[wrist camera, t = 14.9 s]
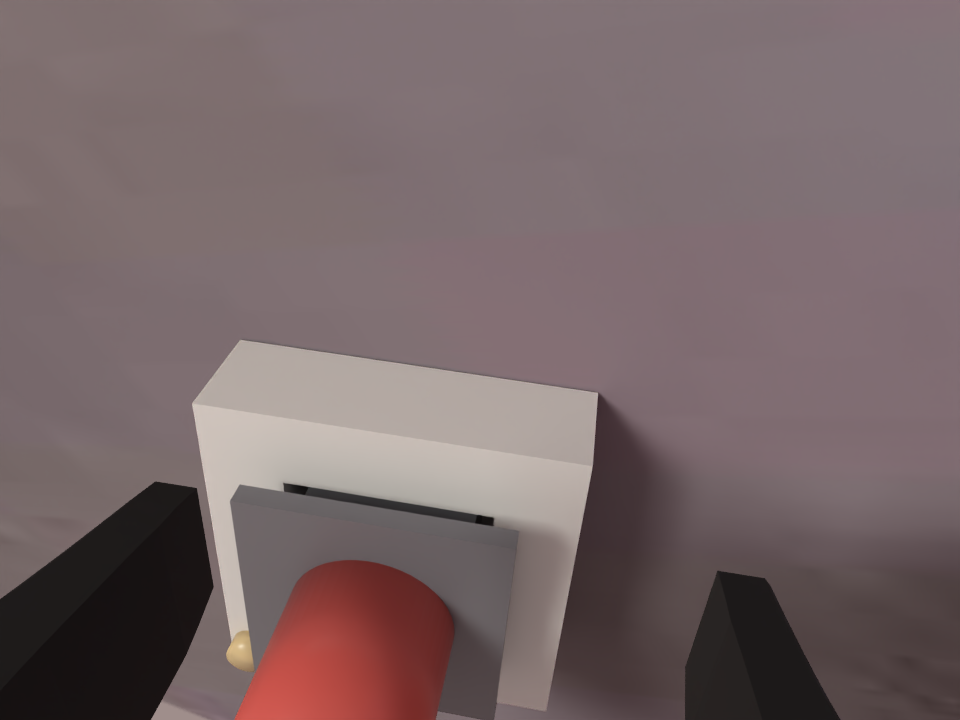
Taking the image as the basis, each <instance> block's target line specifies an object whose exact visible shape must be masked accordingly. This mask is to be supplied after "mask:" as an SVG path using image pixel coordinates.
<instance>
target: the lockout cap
mask: <svg viewBox="0 0 960 720" xmlns="http://www.w3.org/2000/svg"><path fill="white" fill-rule="evenodd" d="M454 632H455V631H454V623H453V620H452V616H451V614H450V612H449V610H448V608H447V607H446V605H445V604H444V602H443V601H442V600H441V599H440V598H439V596H438V595H437V594H436V593H435V592H434V591H432V590H431V589H430V588H429V587H428V586H426V585H425V584H424V583H422V582H421V581H419V580H418V579H416V578H414V577H413V576H411V575H409V574H407V573H405V572H403V571H401V570H398V569H395V568H393V567H390V566H386V565H383V564H379V563H374V562H369V561H360V560H341V561H333V562H329V563H325V564H322V565H319V566H316V567H315V568H313V569H311V570H309V571H308V572H306V573H305V574H304V575H302V577H301V578H300V579H299V580H298V581H297V583H296V584H295V586H294V588H293V590H292V592H291V594H290V597H289V599H288V601H287V603H286V606H285V608H284V610H283V612H282V615H281V617H280V619H279V621H278V623H277V626H276V628H275V630H274V632H273V635H272V637H271V639H270V641H269V644H268V646H267V648H266V650H265V653H264V655H263V657H262V659H261V661H260V664H259V666H258V668H257V670H256V673H255V675H254V677H253V679H252V682H251V684H250V686H249V688H248V690H247V693H246V695H245V697H244V699H243V702H242V704H241V706H240V708H239V711H238V713H237V715H236V717H235V719H234V720H436V716H437V711H438V707H439V703H440V698H441V694H442V689H443V685H444V680H445V676H446V671H447V667H448V662H449V658H450V654H451V649H452V645H453V640H454Z"/></svg>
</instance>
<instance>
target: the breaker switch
mask: <svg viewBox="0 0 960 720" xmlns="http://www.w3.org/2000/svg"><path fill="white" fill-rule="evenodd" d="M230 506H231V513H232V520H233V527H234V533H235V540H236V547H237V554H238V561H239V568H240V575H241V581H242V588H243V595H244V602H245V609H246V616H247V623H248V629H249V636H250V643H251V650H252V657H253V664H254V671H255V673H256V670H257V668H258V666H259V664H260V661H261V659H262V657H263V655H264V653H265V650H266V648H267V646H268V644H269V641H270V639H271V637H272V635H273V632H274V630H275V628H276V626H277V623H278V621H279V619H280V617H281V615H282V612H283V610H284V608H285V606H286V603H287V601H288V599H289V597H290V594H291V592H292V590H293V588H294V586H295V584H296V583H297V581H298V580H299V579H300V578H301V577H302V575H304V574H305V573H306V572H308V571H309V570H311V569H313V568H315V567H316V566H319V565H322V564H325V563H329V562H333V561H341V560H360V561H369V562H374V563H379V564H383V565H386V566H390V567H393V568H395V569H398V570H401V571H403V572H405V573H407V574H409V575H411V576H413V577H414V578H416V579H418V580H419V581H421V582H422V583H424V584H425V585H426V586H428V587H429V588H430V589H431V590H432V591H434V592H435V593H436V594H437V595H438V596H439V598H440V599H441V600H442V601H443V602H444V604H445V605H446V607H447V608H448V610H449V612H450V614H451V616H452V620H453V623H454V631H455V632H454V640H453V645H452V649H451V654H450V658H449V662H448V667H447V671H446V676H445V680H444V685H443V689H442V694H441V698H440V703H439V707H438V711H440V712H445V713H450V714H455V715H461V716H466V717H471V718H477V719H482V720H494V717H495V710H496V704H497V697H498V689H499V682H500V674H501V666H502V659H503V651H504V644H505V636H506V628H507V621H508V613H509V606H510V598H511V590H512V583H513V575H514V568H515V560H516V552H517V545H518V537H519V531H517V530H511V529H505V528H499V527H493V526H487V525H481V523H482V515H476V514H470V513H464V512H458V511H452V510H446V509H440V508H434V507H428V506H422V505H416V504H409V503H403V502H397V501H391V500H385V499H379V498H373V497H367V496H361V495H355V494H349V493H343V492H337V491H331V490H325V489H319V488H312V487H309V488H308V490H307V492H306V494H305V495H301V494H295V493H289V492H283V491H277V490H271V489H265V488H259V487H253V486H247V485H239V486H238V488H237V490H236V491H235V493H234V495H233V497H232V498H231V500H230Z"/></svg>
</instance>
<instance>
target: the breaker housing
mask: <svg viewBox="0 0 960 720" xmlns="http://www.w3.org/2000/svg"><path fill="white" fill-rule="evenodd" d="M597 401H598V393H596V392H589V391H582V390H575V389H569V388H562V387H555V386H548V385H542V384H535V383H528V382H521V381H515V380H508V379H501V378H495V377H488V376H481V375H474V374H468V373H461V372H454V371H447V370H441V369H434V368H427V367H420V366H414V365H407V364H400V363H393V362H387V361H380V360H373V359H366V358H360V357H353V356H346V355H340V354H333V353H326V352H319V351H313V350H306V349H299V348H292V347H286V346H279V345H272V344H265V343H259V342H252V341H245V340H240V341H239V342H238V344H237V345H236V346H235V348H234V349H233V350H232V352H231V353H230V354H229V356H228V357H227V358H226V359H225V361H224V362H223V363H222V365H221V366H220V367H219V369H218V370H217V371H216V373H215V374H214V375H213V377H212V378H211V379H210V381H209V382H208V383H207V385H206V386H205V387H204V389H203V390H202V391H201V392H200V394H199V395H198V396H197V398H196V399H195V400H194V402H193V403H192V405H193V411H194V417H195V423H196V429H197V435H198V441H199V447H200V453H201V459H202V465H203V471H204V477H205V483H206V489H207V495H208V501H209V507H210V513H211V519H212V525H213V532H214V538H215V544H216V550H217V556H218V562H219V568H220V574H221V580H222V586H223V592H224V598H225V604H226V610H227V616H228V622H229V628H230V634H231V640H232V643H231V645H230V647H229V649H228V651H227V654H226V656H227V659H228V661H229V662H230V663H231V664H232V665H233V666H235V667H236V668H238V669H241V670H243V671H247V672H255V671H254V664H253V657H252V650H251V643H250V636H249V629H248V623H247V616H246V609H245V602H244V595H243V588H242V581H241V575H240V568H239V561H238V554H237V547H236V540H235V533H234V527H233V520H232V513H231V506H230V500H231V498H232V497H233V495H234V493H235V491H236V490H237V488H238V486H239V485H247V486H253V487H259V488H265V489H271V490H277V491H283V492H289V493H295V494H301V495H305V494H306V492H307V490H308V488H309V487H312V488H319V489H325V490H331V491H337V492H343V493H349V494H355V495H361V496H367V497H373V498H379V499H385V500H391V501H397V502H403V503H409V504H416V505H422V506H428V507H434V508H440V509H446V510H452V511H458V512H464V513H470V514H476V515H482V523H481V525H487V526H493V527H499V528H505V529H511V530H517V531H519V537H518V545H517V552H516V560H515V568H514V575H513V583H512V590H511V598H510V606H509V613H508V621H507V628H506V636H505V644H504V651H503V659H502V666H501V674H500V682H499V689H498V697H497V702H498V703H503V704H508V705H514V706H519V707H524V708H530V709H535V710H541V711H546V709H547V704H548V698H549V693H550V688H551V683H552V677H553V672H554V667H555V662H556V656H557V651H558V646H559V641H560V635H561V630H562V625H563V620H564V614H565V609H566V604H567V599H568V594H569V588H570V583H571V578H572V573H573V567H574V562H575V557H576V552H577V546H578V541H579V536H580V531H581V525H582V520H583V515H584V510H585V504H586V499H587V494H588V489H589V483H590V478H591V473H592V468H593V456H594V443H595V429H596V415H597Z"/></svg>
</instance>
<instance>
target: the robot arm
mask: <svg viewBox="0 0 960 720" xmlns="http://www.w3.org/2000/svg"><path fill="white" fill-rule="evenodd" d="M213 587H214V586H213V580H212V575H211V569H210V563H209V557H208V551H207V545H206V540H205V534H204V528H203V522H202V516H201V511H200V505H199V499H198V493H197V488H193V487H187V486H180V485H174V484H168V483H161V482H154V483H153V484H152V485H150V486H149V487H148V488H146V489H145V490H143V491H142V492H141V493H139V494H138V495H137V496H135V497H134V498H133V499H131V500H130V501H129V502H128V503H126V504H125V505H124V506H122V507H121V508H120V509H119V510H117V511H116V512H115V513H113V514H112V515H111V516H110V517H108V518H107V519H106V520H104V521H103V522H102V523H101V524H99V525H98V526H97V527H95V528H94V529H93V530H92V531H90V532H89V533H88V534H86V535H85V536H84V537H82V538H81V539H80V540H79V541H77V542H76V543H75V544H73V545H72V546H71V547H70V548H68V549H67V550H66V551H64V552H63V553H62V554H60V555H59V556H58V557H56V558H55V559H54V560H52V561H51V562H50V563H48V564H47V565H46V566H44V567H43V568H42V569H40V570H39V571H38V572H36V573H35V574H34V575H32V576H31V577H30V578H28V579H27V580H26V581H24V582H23V583H22V584H20V585H19V586H18V587H16V588H15V589H13V590H12V591H11V592H9V593H8V594H7V595H5V596H4V597H2V598H1V599H0V720H151V718H152V717H153V715H154V713H155V711H156V709H157V708H158V706H159V704H160V702H161V700H162V699H163V697H164V695H165V693H166V691H167V689H168V688H169V686H170V684H171V682H172V680H173V678H174V677H175V675H176V673H177V671H178V669H179V667H180V665H181V664H182V662H183V660H184V658H185V656H186V654H187V652H188V649H189V647H190V645H191V642H192V640H193V637H194V635H195V633H196V630H197V628H198V626H199V623H200V621H201V618H202V615H203V613H204V610H205V608H206V605H207V603H208V600H209V597H210V595H211V592H212V590H213ZM685 720H840V718H839V717H838V715H837V713H836V711H835V710H834V708H833V706H832V705H831V703H830V701H829V699H828V697H827V696H826V694H825V692H824V690H823V688H822V687H821V685H820V683H819V681H818V679H817V677H816V675H815V674H814V672H813V670H812V668H811V666H810V664H809V662H808V660H807V658H806V656H805V655H804V653H803V651H802V649H801V647H800V645H799V643H798V641H797V639H796V637H795V635H794V633H793V631H792V629H791V627H790V625H789V623H788V621H787V619H786V617H785V615H784V613H783V611H782V609H781V607H780V605H779V603H778V601H777V598H776V596H775V594H774V592H773V590H772V588H771V586H770V585H769V583H768V582H767V581H766V579H765V578H759V577H753V576H746V575H740V574H734V573H728V572H721V571H717V574H716V577H715V580H714V583H713V586H712V589H711V592H710V595H709V598H708V601H707V604H706V607H705V610H704V613H703V616H702V619H701V622H700V625H699V628H698V631H697V634H696V637H695V640H694V643H693V646H692V649H691V652H690V655H689V658H688V661H687V664H686V667H685Z"/></svg>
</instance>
